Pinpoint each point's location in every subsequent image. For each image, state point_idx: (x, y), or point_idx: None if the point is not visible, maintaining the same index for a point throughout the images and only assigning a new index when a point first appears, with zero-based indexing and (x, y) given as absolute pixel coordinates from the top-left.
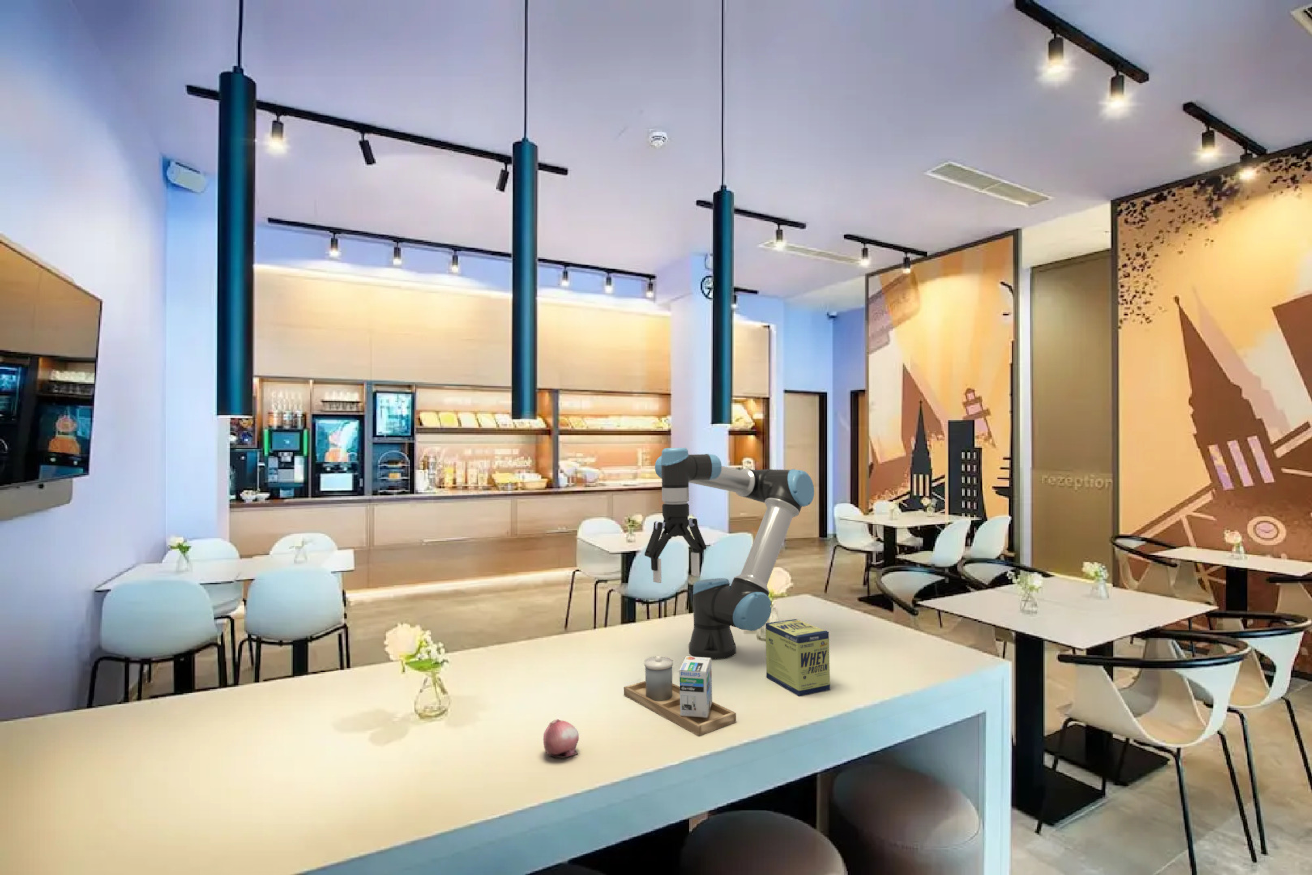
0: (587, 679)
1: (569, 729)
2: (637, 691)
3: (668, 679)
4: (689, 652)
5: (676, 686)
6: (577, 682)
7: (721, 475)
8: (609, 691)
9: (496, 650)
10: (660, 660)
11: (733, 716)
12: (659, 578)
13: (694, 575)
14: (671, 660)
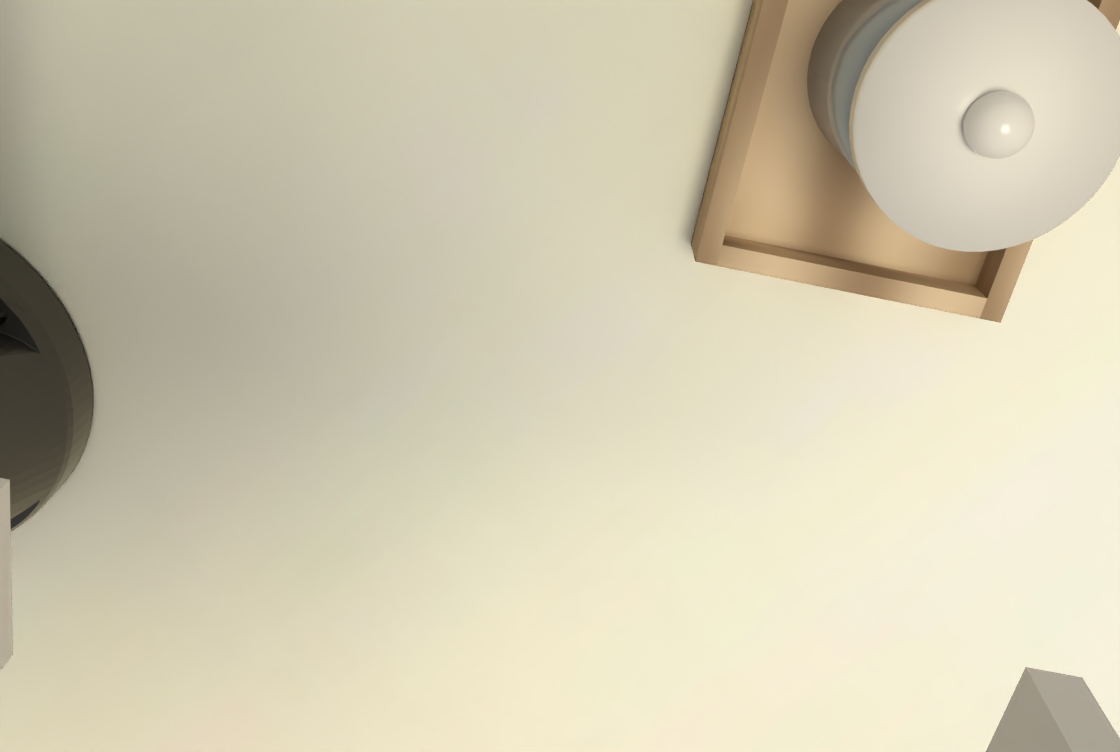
0: (886, 641)
1: None
2: (923, 249)
3: None
4: (71, 471)
5: (774, 25)
6: (960, 650)
7: None
8: (974, 416)
9: None
10: (1012, 91)
11: None
12: (1114, 748)
13: (5, 577)
14: (914, 32)
